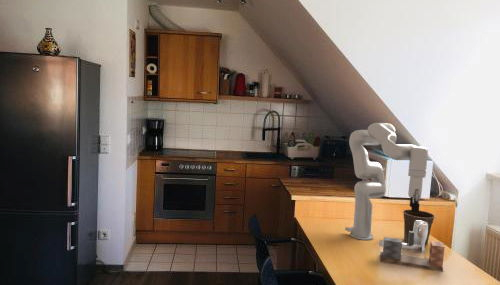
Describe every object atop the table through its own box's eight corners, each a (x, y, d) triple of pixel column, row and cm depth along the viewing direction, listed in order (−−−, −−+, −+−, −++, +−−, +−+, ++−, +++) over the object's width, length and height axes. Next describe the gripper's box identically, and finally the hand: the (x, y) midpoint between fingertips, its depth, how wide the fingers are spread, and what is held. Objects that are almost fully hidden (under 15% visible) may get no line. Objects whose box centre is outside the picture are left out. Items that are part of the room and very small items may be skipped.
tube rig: (380, 261, 192) (382, 239, 191) (380, 254, 201) (382, 233, 200) (442, 271, 184) (445, 248, 183) (439, 263, 193) (441, 241, 192)
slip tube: (379, 246, 195) (380, 228, 194) (379, 244, 198) (380, 226, 197) (421, 253, 189) (423, 234, 188) (421, 250, 192) (422, 232, 191)
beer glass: (425, 249, 212) (427, 221, 211) (426, 253, 206) (429, 225, 204) (411, 247, 214) (413, 219, 213) (411, 251, 208) (414, 223, 206)
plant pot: (432, 240, 227) (435, 212, 226) (432, 249, 213) (434, 219, 211) (401, 235, 234) (404, 207, 232) (399, 243, 219) (401, 214, 218)
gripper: (407, 169, 198) (404, 204, 199) (409, 175, 181) (406, 212, 183) (423, 171, 195) (420, 206, 197) (427, 177, 179) (424, 214, 181)
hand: (414, 209), depth 190 cm, fingers open, 9 cm apart
